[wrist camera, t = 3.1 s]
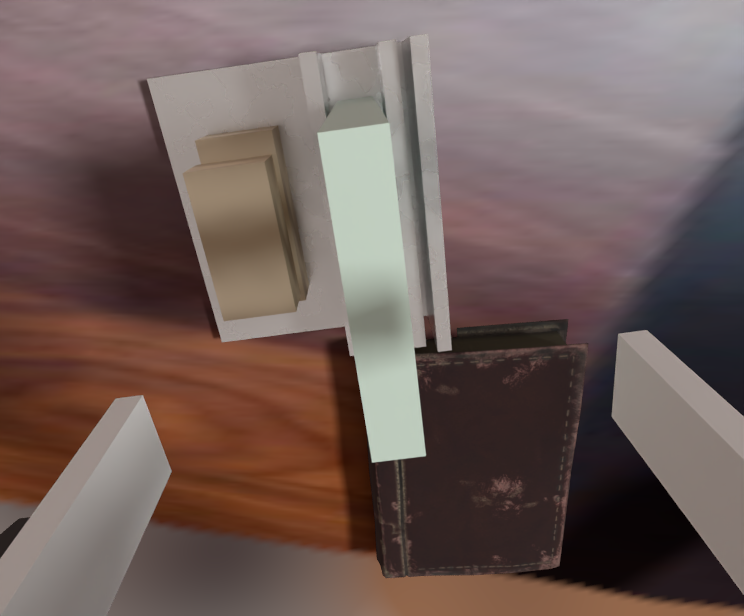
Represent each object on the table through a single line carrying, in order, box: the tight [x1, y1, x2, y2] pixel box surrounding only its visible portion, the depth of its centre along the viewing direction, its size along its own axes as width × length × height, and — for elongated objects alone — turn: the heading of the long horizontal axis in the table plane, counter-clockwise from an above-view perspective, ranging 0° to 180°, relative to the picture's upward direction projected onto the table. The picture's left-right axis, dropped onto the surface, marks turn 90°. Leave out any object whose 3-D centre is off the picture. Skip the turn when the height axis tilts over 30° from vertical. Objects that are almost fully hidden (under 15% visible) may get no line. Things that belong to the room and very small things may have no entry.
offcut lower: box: [195, 125, 309, 301], centre depth 37 cm, size 12×5×3 cm, turn 7°
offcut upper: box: [183, 155, 301, 321], centre depth 35 cm, size 10×5×3 cm, turn 7°
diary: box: [366, 319, 588, 578], centre depth 47 cm, size 19×25×5 cm
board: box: [317, 96, 426, 463], centre depth 29 cm, size 14×2×20 cm, turn 7°
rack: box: [147, 34, 452, 356], centre depth 36 cm, size 20×18×7 cm
